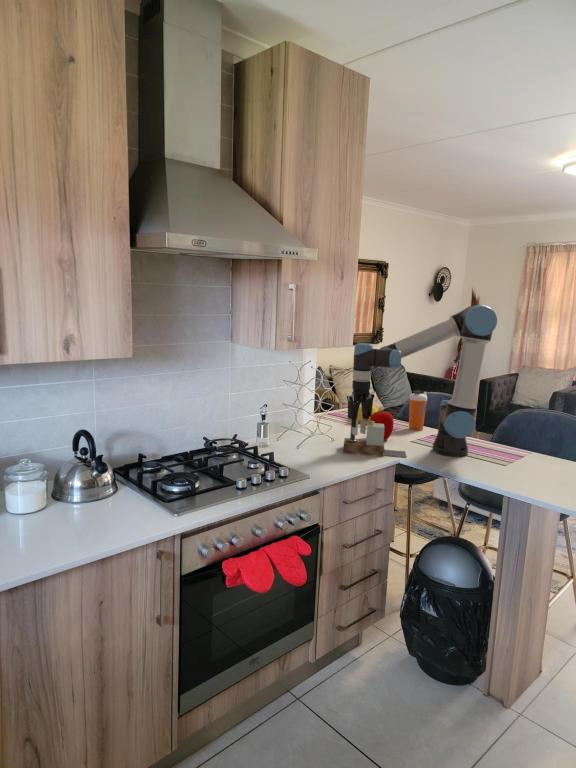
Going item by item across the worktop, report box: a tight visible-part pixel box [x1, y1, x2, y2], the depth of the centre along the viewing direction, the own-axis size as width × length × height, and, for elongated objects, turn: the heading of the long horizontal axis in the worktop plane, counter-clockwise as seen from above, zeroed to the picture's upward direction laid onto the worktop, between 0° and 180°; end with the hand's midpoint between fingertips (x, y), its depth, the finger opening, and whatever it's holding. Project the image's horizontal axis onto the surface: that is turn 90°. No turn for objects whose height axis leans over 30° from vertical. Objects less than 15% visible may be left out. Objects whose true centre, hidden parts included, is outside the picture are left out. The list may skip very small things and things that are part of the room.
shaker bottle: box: [408, 389, 428, 432], centre depth 274 cm, size 9×9×20 cm
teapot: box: [357, 404, 384, 420], centre depth 287 cm, size 14×13×10 cm
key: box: [347, 418, 374, 442], centre depth 227 cm, size 11×4×10 cm, turn 60°
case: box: [343, 437, 385, 457], centre depth 229 cm, size 17×10×4 cm, turn 82°
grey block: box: [365, 423, 385, 446], centre depth 227 cm, size 7×7×8 cm
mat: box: [384, 449, 408, 459], centre depth 227 cm, size 9×9×1 cm
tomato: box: [370, 409, 394, 441], centre depth 250 cm, size 13×11×14 cm
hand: (358, 433), depth 227 cm, fingers closed on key, 4 cm apart
